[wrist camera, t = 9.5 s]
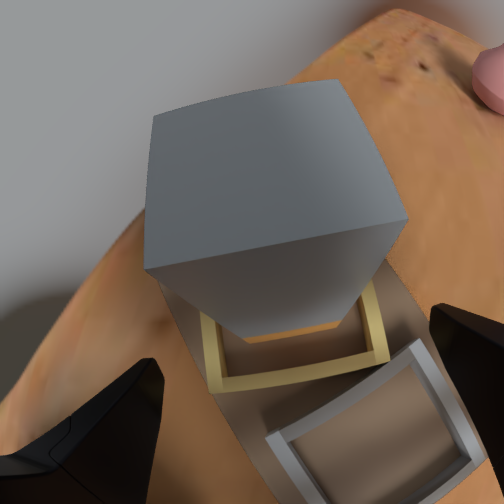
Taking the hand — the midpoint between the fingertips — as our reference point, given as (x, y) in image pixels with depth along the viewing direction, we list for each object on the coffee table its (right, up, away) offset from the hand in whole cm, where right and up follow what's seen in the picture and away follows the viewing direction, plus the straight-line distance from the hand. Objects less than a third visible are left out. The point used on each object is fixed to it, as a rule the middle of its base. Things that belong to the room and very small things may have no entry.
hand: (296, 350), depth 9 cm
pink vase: (+26, +20, +14) cm, 36 cm away
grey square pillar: (+1, 0, +9) cm, 9 cm away
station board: (+3, -4, +7) cm, 9 cm away
